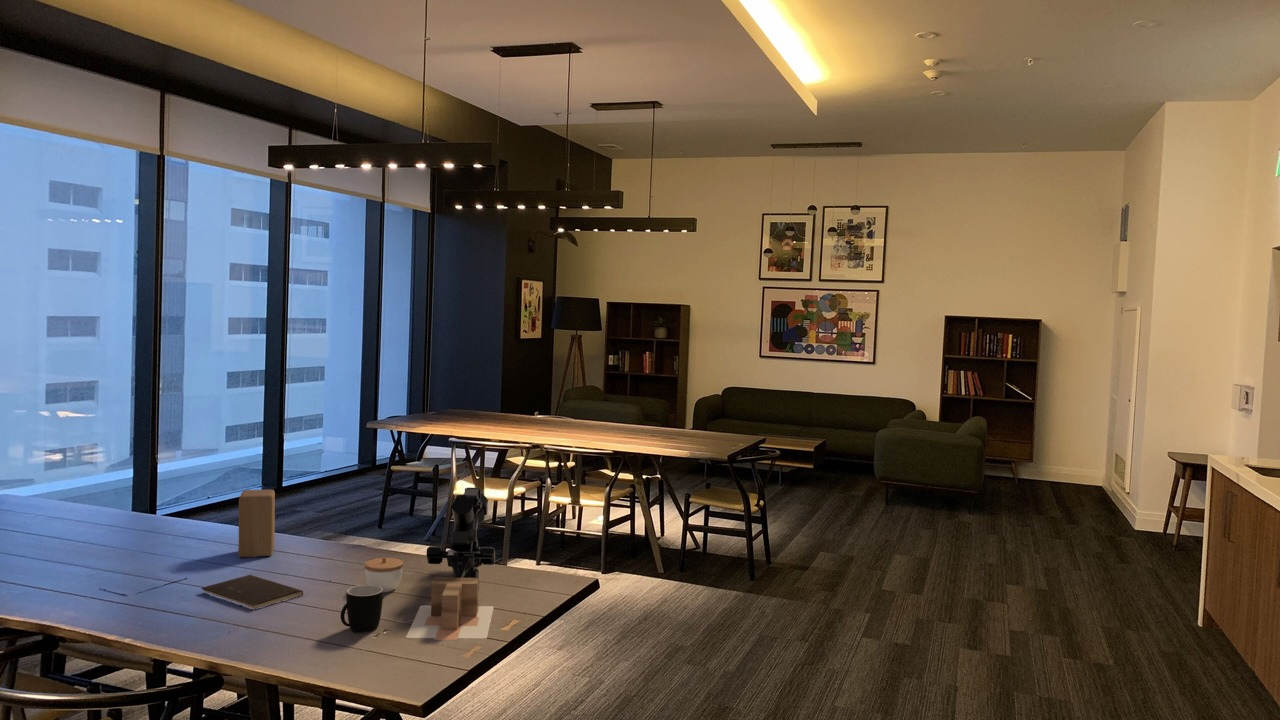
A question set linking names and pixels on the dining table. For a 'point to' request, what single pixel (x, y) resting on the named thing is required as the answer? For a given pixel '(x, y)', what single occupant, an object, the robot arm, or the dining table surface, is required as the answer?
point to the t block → (454, 600)
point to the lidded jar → (384, 572)
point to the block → (256, 523)
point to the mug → (363, 608)
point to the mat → (467, 628)
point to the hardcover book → (252, 591)
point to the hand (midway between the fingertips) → (458, 582)
